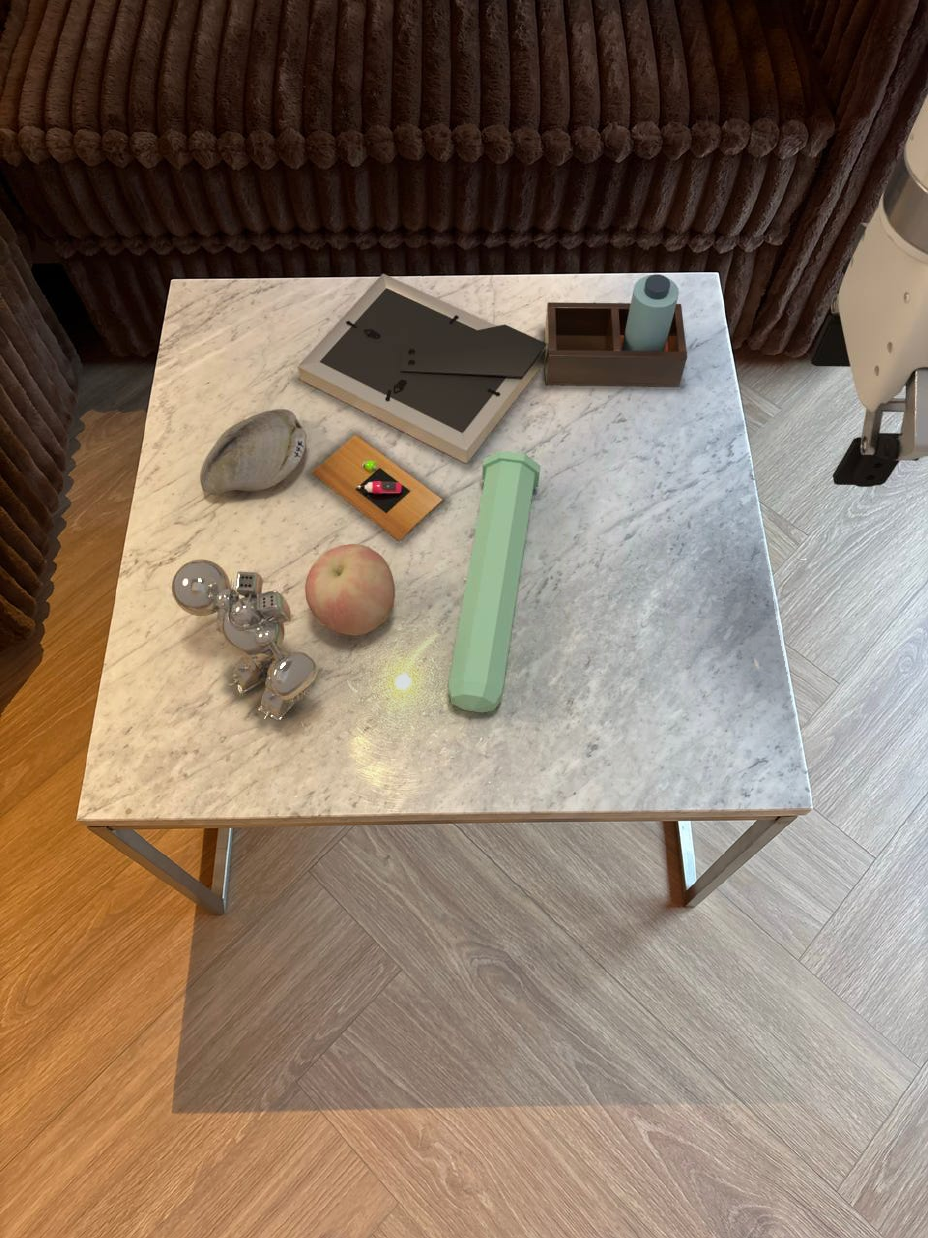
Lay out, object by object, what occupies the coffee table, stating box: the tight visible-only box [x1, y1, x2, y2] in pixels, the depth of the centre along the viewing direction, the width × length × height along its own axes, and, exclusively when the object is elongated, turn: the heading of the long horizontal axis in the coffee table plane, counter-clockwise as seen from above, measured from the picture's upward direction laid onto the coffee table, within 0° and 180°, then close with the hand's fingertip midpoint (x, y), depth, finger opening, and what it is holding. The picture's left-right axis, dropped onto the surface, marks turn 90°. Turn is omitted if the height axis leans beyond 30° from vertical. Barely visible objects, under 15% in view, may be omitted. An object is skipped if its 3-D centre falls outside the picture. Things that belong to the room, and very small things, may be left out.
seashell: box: [199, 408, 308, 496], centre depth 93 cm, size 12×8×5 cm
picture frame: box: [297, 273, 547, 465], centre depth 99 cm, size 16×3×21 cm
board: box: [311, 434, 444, 542], centre depth 93 cm, size 6×12×2 cm, turn 48°
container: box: [447, 450, 541, 713], centre depth 86 cm, size 6×6×25 cm
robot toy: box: [171, 559, 318, 721], centre depth 78 cm, size 15×6×15 cm, turn 46°
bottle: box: [621, 273, 680, 351], centre depth 96 cm, size 4×4×10 cm
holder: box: [544, 301, 688, 388], centre depth 99 cm, size 7×14×4 cm, turn 89°
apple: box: [304, 543, 396, 636], centre depth 84 cm, size 8×8×8 cm
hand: (844, 419), depth 62 cm, fingers open, 9 cm apart
